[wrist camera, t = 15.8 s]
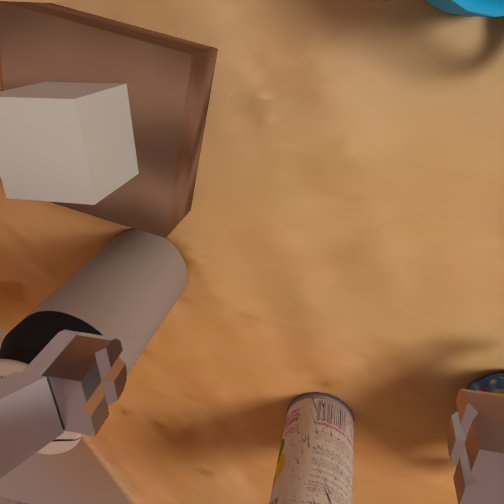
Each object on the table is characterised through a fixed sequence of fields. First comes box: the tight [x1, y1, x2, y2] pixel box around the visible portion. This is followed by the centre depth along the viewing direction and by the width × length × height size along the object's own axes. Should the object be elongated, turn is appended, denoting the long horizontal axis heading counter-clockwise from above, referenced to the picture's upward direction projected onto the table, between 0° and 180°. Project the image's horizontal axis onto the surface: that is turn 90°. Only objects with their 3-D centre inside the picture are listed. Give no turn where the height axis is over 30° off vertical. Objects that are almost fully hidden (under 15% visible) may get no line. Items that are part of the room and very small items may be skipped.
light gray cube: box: [0, 82, 139, 205], centre depth 28 cm, size 6×6×6 cm
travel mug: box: [0, 229, 187, 454], centre depth 35 cm, size 8×8×18 cm
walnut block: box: [0, 1, 218, 238], centre depth 34 cm, size 13×13×6 cm
